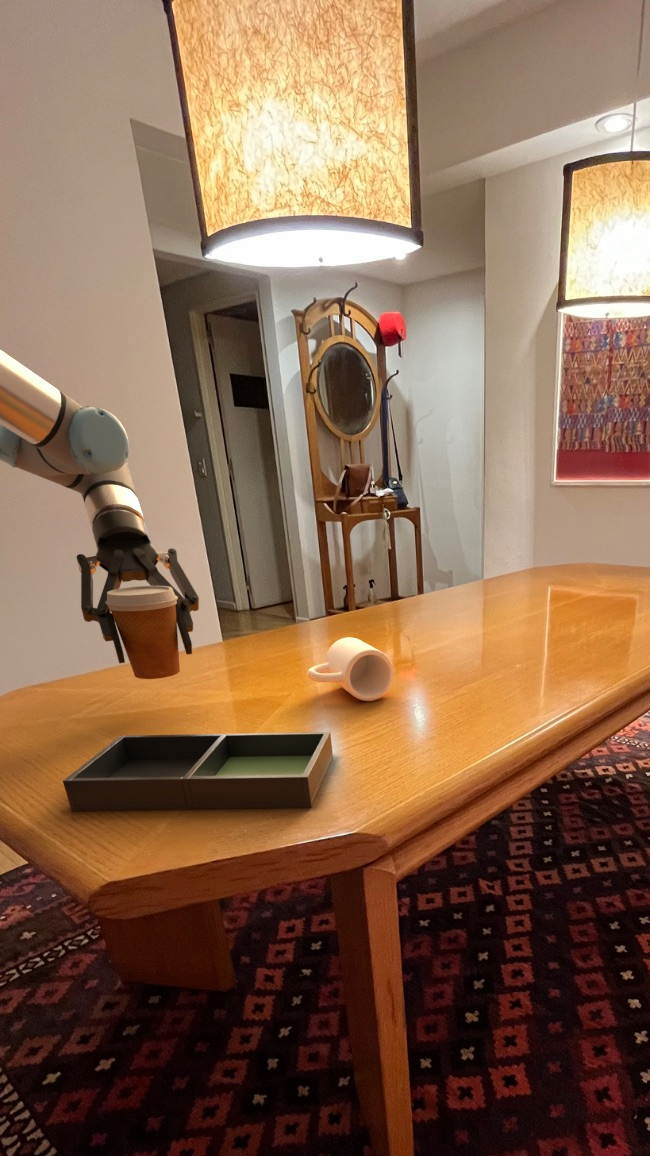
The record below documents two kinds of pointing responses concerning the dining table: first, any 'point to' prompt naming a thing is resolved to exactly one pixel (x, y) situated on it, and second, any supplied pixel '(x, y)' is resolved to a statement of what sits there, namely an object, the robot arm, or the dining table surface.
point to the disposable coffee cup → (147, 628)
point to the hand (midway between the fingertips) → (155, 653)
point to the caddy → (203, 772)
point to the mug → (356, 669)
